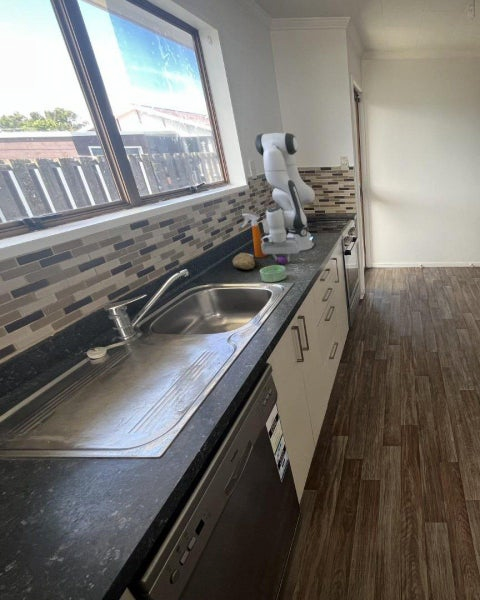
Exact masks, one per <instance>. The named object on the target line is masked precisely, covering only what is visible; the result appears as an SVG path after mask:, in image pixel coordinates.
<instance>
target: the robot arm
mask: <svg viewBox="0 0 480 600" xmlns="http://www.w3.org/2000/svg"><path fill="white" fill-rule="evenodd" d="M254 144H255V149H256V151H257V152H258V154H260V155H261V156H262V157H263V158H262V160H263V161H262V162H263V169H264V175H265V179H266V182H267V183H268V184H269V185H270V186H271V187H273V188H274V189H273V190H272V193H271V196H272V200H273V201H274V202H275V203H276V204H277V205H278V206H270V207H268V208H267V209H266V211H265V212H266V213H265V215H266V216H265V217H266V224H267V227H268V229H269V230H268V234H267V235H265V236H262V239H261V240H262V242H263V243H262V245H261V246H262V253H263V254H267V255H272V257H273V258H274V260H275V262H278V258H279V257H278V256H277V255H286V261H287V262H290V261H291V258H290V257H291V255H298V254H299V253H300V251H307V250H310V249H312V248H313V247H314V246H315V243H314V242H313V240H312V239H313V236H312V234H311V233H310V232H309V225H308V218H307V215H306V213H305V211H304V208H303V205H309V204H313V203H314V201H315V199H316V198H315V197H316V195H315V190H314V189H313V188H312V187H310V186H309V185H308V184H306V183H305V182H304V181H303V179H302V178H301V175H300V173H299V169H298V164H297V161H296V157H295V154H296V153H297V152H298V149H299V148H298V147H299V145H298V144H299V143H298V141H297V138H296V136H295V135H294V133H290V132H286V133H285V132H271V133H260V134H257V135H256V137H255V138H254ZM286 229H288V233H287V230H286Z"/></svg>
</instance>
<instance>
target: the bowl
mask: <svg viewBox="0 0 480 600" xmlns="http://www.w3.org/2000/svg"><path fill="white" fill-rule="evenodd" d="M259 275H260V279H261V281H262V282H265V283H276V282H280V281H282V280H285V279H286V278H287V269H286V267H285V266H284V265H281V264H280V265H279V264H278V265H277V264H275V265H268V266H264V267H262V268H260V270H259Z"/></svg>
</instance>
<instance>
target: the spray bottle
mask: <svg viewBox="0 0 480 600" xmlns="http://www.w3.org/2000/svg"><path fill="white" fill-rule="evenodd" d="M241 216H242V217H244V222H243V224H242V226H241V228H244V227H245V226H246V225H247V224H248V222H249V221H251V222H250V224H251V231H252V240H253V248H254V249H253V250H254V258H259V259H260V258H264V257H268V254H263V253H262V246H261V245H262V243H263V242H262V240H261V239H262V238H263V236H262V233H261V229H260V226H259V222H258V220H259V219H260V217H259V216H257V215H254V214H251V213H242V214H241Z"/></svg>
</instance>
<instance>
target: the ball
mask: <svg viewBox="0 0 480 600" xmlns="http://www.w3.org/2000/svg"><path fill="white" fill-rule="evenodd" d="M277 258H278V261H277V262H278V263H279V264H280V265H286V264H287V263H288V261H286V258H287V256H286V255H280V256H278V257H277Z"/></svg>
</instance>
